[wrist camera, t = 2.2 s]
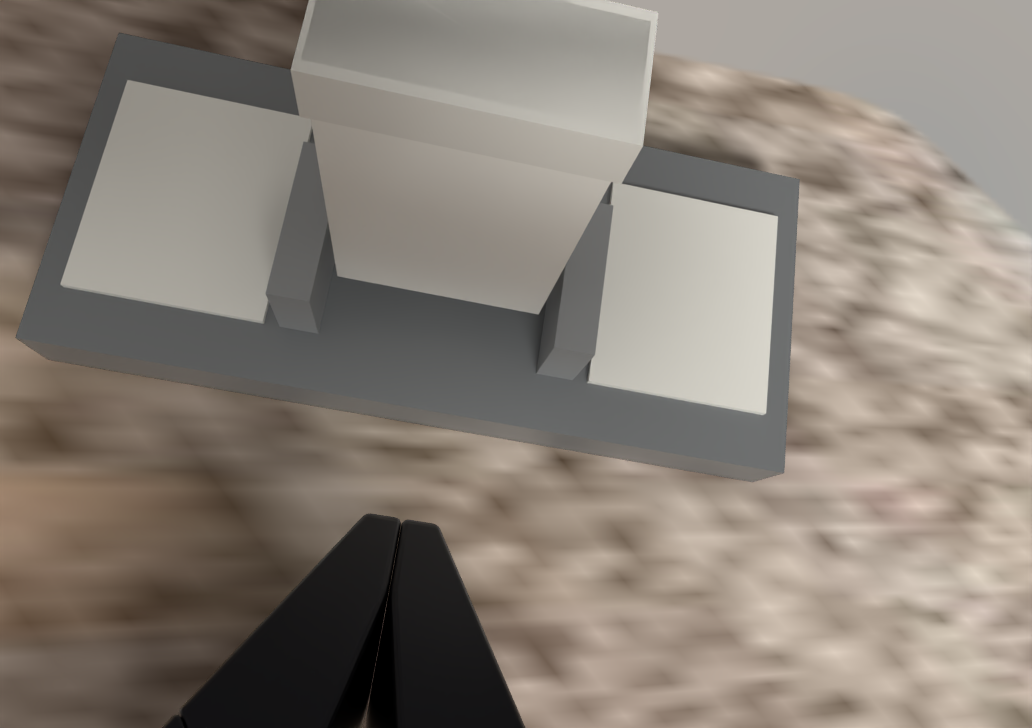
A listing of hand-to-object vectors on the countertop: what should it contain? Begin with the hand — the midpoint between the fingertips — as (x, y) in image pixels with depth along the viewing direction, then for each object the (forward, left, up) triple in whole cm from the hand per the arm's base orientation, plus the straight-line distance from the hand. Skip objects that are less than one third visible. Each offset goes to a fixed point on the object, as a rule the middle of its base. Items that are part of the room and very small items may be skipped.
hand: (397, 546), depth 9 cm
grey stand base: (+5, -7, -13) cm, 16 cm away
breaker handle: (+4, -6, -10) cm, 12 cm away
